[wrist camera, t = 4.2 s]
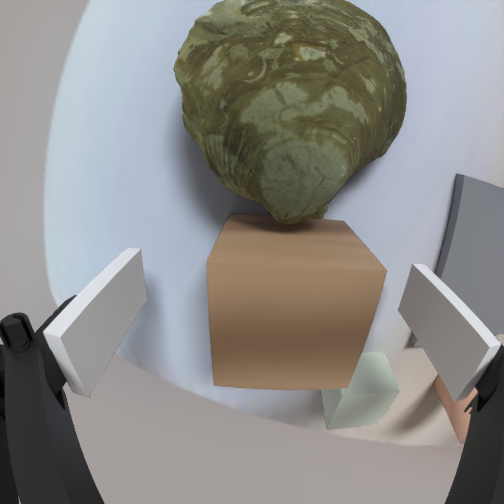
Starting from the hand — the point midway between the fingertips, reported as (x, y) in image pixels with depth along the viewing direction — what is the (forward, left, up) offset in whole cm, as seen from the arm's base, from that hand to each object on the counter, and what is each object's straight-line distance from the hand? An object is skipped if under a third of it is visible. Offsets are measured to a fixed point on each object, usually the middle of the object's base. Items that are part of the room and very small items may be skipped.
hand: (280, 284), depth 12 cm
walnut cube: (+1, 0, -3) cm, 3 cm away
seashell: (-13, +1, -4) cm, 13 cm away
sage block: (+9, +6, -3) cm, 11 cm away
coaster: (0, +16, -3) cm, 17 cm away
